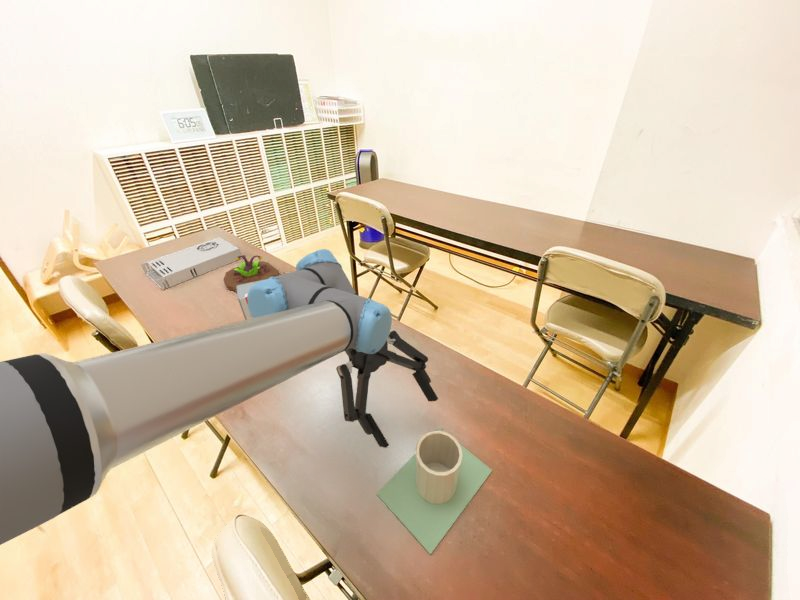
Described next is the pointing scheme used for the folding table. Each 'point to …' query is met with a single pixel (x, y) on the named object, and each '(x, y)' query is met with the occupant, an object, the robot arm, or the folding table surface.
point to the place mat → (428, 517)
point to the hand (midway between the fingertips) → (410, 421)
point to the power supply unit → (190, 262)
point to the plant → (249, 272)
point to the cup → (437, 466)
